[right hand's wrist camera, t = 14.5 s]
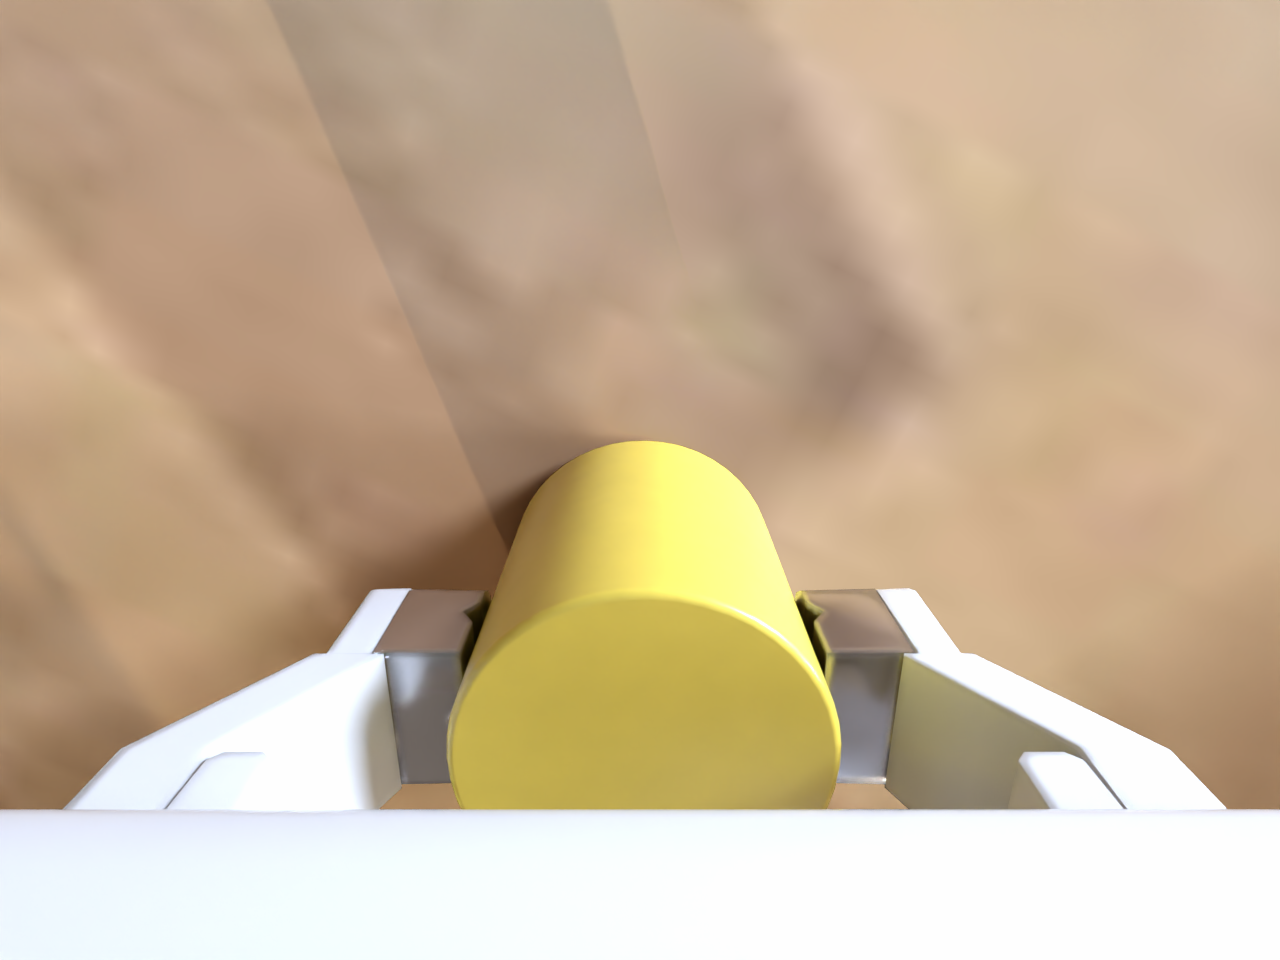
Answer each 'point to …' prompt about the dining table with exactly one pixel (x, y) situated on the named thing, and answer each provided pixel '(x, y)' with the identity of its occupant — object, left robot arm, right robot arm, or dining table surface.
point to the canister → (643, 652)
